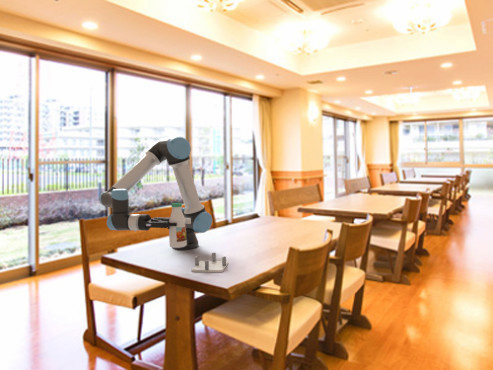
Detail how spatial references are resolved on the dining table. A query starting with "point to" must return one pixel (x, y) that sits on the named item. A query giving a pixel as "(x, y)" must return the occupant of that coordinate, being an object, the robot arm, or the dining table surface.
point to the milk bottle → (177, 233)
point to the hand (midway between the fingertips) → (187, 222)
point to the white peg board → (210, 264)
